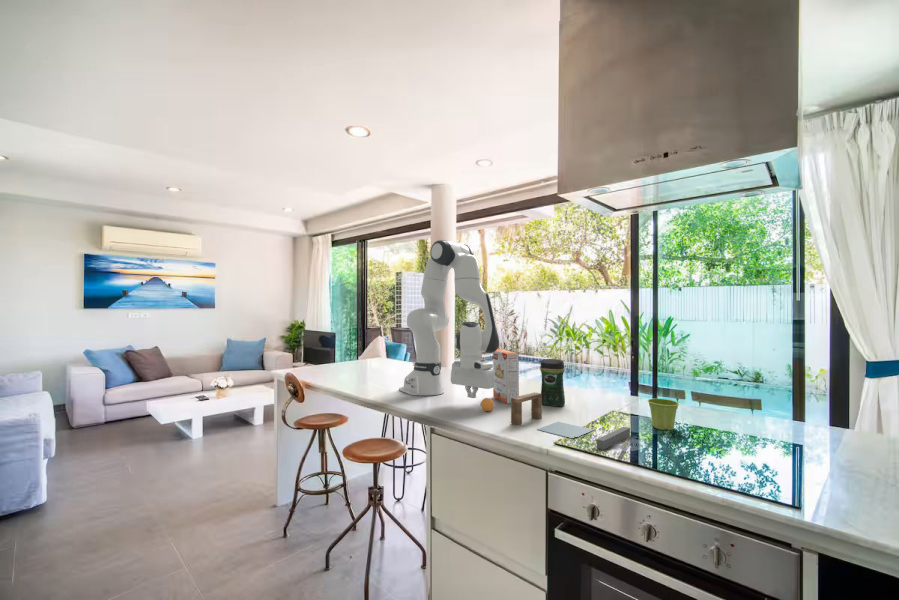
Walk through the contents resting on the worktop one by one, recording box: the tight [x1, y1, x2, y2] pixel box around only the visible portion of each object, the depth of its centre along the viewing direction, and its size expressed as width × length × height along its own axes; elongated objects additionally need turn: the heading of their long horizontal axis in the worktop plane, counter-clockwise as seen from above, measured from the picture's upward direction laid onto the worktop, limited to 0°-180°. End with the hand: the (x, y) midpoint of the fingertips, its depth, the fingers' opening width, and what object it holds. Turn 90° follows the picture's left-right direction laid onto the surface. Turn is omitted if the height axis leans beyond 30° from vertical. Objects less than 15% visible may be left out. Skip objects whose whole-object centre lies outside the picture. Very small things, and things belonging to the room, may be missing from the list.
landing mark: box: [536, 421, 595, 439], centre depth 133 cm, size 13×13×1 cm
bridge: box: [510, 391, 543, 426], centre depth 144 cm, size 3×14×9 cm, turn 134°
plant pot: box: [647, 398, 680, 431], centre depth 136 cm, size 9×9×9 cm
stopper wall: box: [596, 426, 631, 451], centre depth 121 cm, size 2×18×2 cm, turn 134°
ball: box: [480, 397, 495, 412], centre depth 156 cm, size 5×5×5 cm
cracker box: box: [492, 349, 520, 405], centre depth 176 cm, size 14×6×21 cm, turn 17°
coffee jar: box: [539, 358, 566, 407], centre depth 168 cm, size 10×8×19 cm
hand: (471, 397), depth 164 cm, fingers closed
